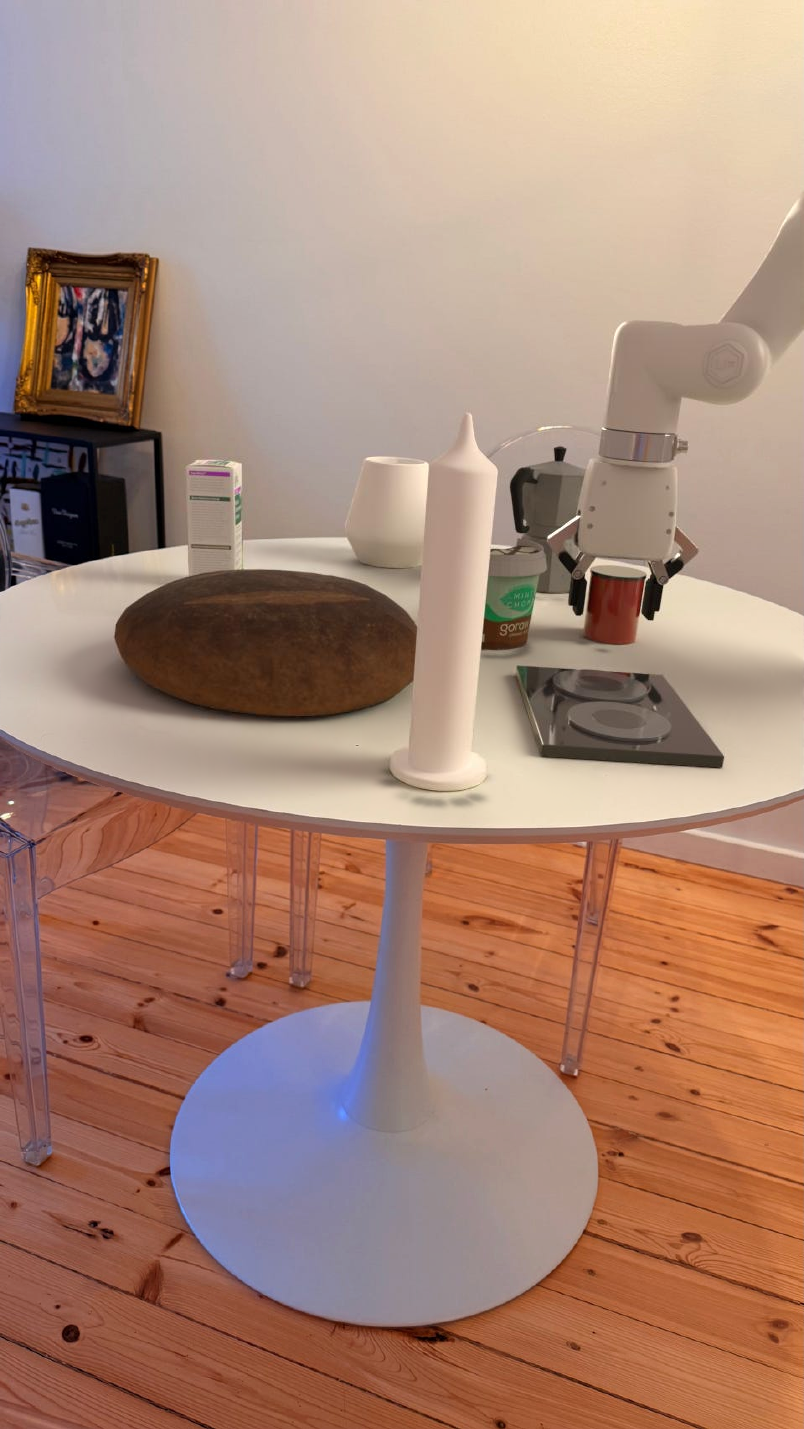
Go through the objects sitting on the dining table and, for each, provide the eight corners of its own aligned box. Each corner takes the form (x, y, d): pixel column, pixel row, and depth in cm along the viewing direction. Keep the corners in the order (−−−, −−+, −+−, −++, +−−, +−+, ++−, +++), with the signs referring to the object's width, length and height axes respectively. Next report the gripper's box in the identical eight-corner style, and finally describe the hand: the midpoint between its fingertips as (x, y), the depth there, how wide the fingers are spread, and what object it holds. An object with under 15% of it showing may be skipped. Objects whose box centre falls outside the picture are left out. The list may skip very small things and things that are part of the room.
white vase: (338, 567, 134) (343, 462, 129) (347, 548, 147) (351, 452, 142) (437, 574, 134) (445, 469, 129) (437, 555, 146) (445, 458, 142)
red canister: (630, 631, 112) (640, 567, 110) (642, 646, 107) (652, 579, 104) (578, 627, 112) (586, 563, 110) (586, 642, 107) (595, 575, 104)
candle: (380, 784, 69) (403, 411, 60) (399, 747, 76) (422, 406, 67) (481, 797, 68) (519, 420, 59) (491, 759, 75) (526, 414, 66)
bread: (103, 632, 99) (99, 545, 96) (361, 622, 108) (365, 543, 105) (137, 737, 74) (133, 624, 71) (468, 712, 84) (477, 612, 81)
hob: (661, 684, 95) (663, 671, 94) (722, 768, 76) (725, 752, 75) (515, 675, 94) (516, 662, 94) (540, 756, 76) (542, 740, 75)
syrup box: (236, 590, 119) (236, 466, 113) (186, 587, 118) (185, 463, 113) (243, 579, 124) (244, 461, 119) (196, 576, 124) (194, 457, 119)
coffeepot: (547, 573, 139) (562, 441, 133) (602, 587, 133) (621, 449, 127) (473, 585, 129) (486, 443, 123) (529, 601, 123) (546, 452, 117)
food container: (499, 661, 98) (509, 561, 95) (448, 647, 102) (456, 550, 98) (559, 638, 108) (570, 547, 104) (510, 626, 111) (520, 537, 108)
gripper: (709, 451, 106) (682, 611, 112) (547, 440, 106) (529, 601, 112) (730, 458, 99) (700, 629, 105) (557, 446, 99) (537, 618, 105)
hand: (612, 613), depth 109 cm, fingers open, 7 cm apart
